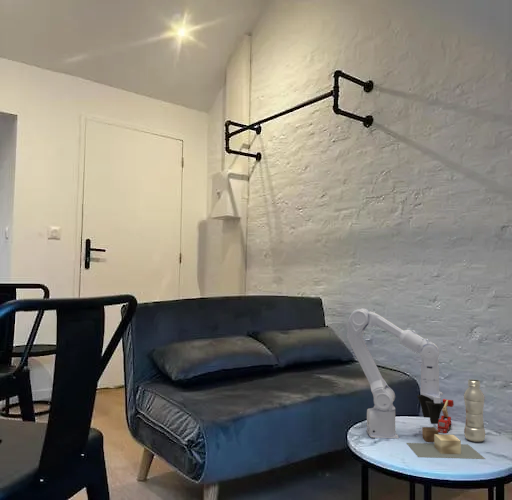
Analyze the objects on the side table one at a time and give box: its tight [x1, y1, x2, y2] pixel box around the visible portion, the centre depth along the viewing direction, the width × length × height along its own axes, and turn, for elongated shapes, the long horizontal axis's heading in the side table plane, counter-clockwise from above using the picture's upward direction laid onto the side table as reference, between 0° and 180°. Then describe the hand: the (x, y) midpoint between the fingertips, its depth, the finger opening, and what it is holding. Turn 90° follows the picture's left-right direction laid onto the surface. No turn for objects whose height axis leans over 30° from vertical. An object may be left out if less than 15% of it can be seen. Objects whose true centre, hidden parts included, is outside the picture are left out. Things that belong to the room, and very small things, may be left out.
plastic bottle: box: [463, 378, 486, 443], centre depth 162 cm, size 6×7×20 cm
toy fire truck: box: [436, 398, 454, 434], centre depth 175 cm, size 3×14×10 cm, turn 148°
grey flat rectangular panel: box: [406, 442, 486, 460], centre depth 151 cm, size 20×13×1 cm, turn 88°
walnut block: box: [421, 426, 439, 443], centre depth 161 cm, size 4×4×4 cm
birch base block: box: [433, 433, 462, 454], centre depth 151 cm, size 6×6×4 cm
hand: (430, 420), depth 161 cm, fingers open, 7 cm apart
